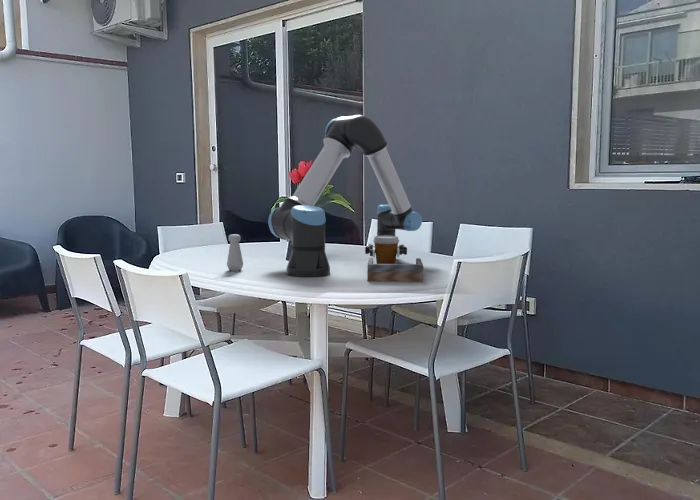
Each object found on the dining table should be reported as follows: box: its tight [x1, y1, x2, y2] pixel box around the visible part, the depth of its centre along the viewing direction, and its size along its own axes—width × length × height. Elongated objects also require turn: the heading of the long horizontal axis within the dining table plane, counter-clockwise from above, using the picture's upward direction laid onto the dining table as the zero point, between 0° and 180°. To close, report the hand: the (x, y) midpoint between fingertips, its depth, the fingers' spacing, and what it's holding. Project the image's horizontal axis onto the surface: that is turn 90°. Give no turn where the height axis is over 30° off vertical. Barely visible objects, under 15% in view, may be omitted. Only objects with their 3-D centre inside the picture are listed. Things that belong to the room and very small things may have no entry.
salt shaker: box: [226, 233, 244, 272], centre depth 215 cm, size 6×6×13 cm
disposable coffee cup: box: [372, 235, 400, 264], centre depth 218 cm, size 10×10×12 cm
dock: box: [366, 257, 424, 283], centre depth 203 cm, size 18×16×6 cm
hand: (386, 253), depth 214 cm, fingers closed on disposable coffee cup, 8 cm apart
